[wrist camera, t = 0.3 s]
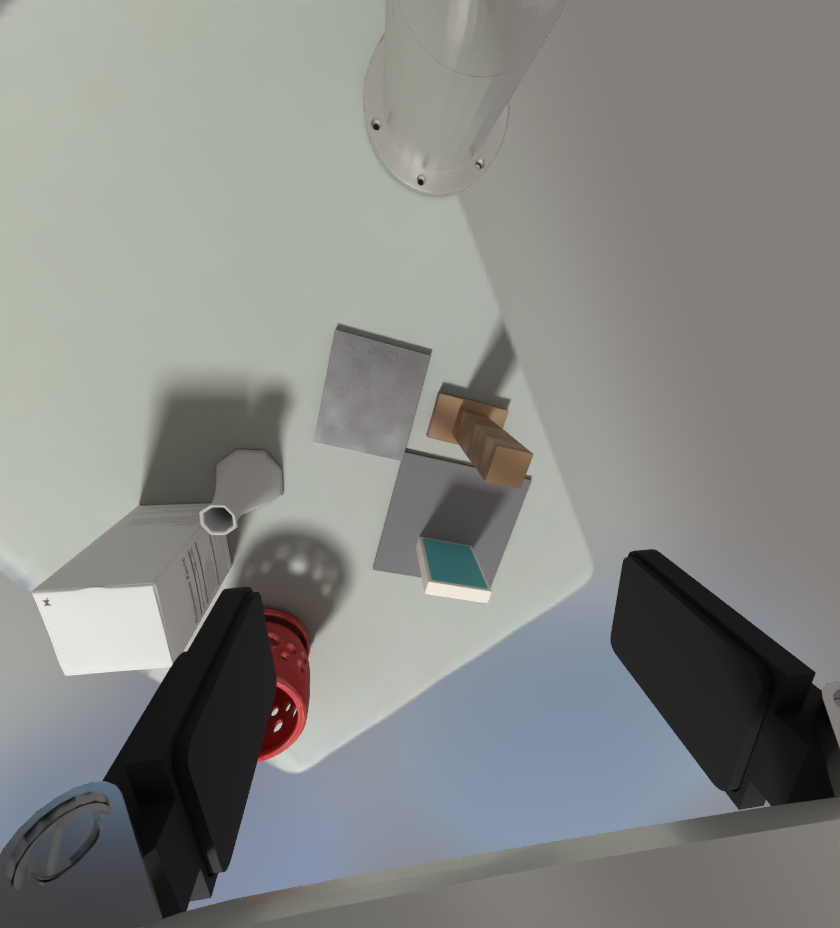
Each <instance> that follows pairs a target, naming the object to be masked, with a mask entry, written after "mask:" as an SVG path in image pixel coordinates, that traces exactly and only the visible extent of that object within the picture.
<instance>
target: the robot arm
mask: <svg viewBox="0 0 840 928" xmlns="http://www.w3.org/2000/svg"><path fill="white" fill-rule="evenodd" d="M567 2H568V0H386V15H385V35H384V37H383V38H382V39H381V41H380V42H379V44H378V45H377V47H376V49H375V51H374V53H373V56H372V58H371V60H370V63H369V67H368V71H367V74H366V78H365V88H364V113H365V120H366V127H367V131H368V134H369V138H370V141H371V144H372V146H373V148H374V150H375V152H376V155H377V157H378V159H379V160H380V161H381V163H382V164H383V166H384V167H385V169H386V170H387V171H388V172H389V173H390V174H391V175H392V176H393V177H394V178H395V179H396V180H397V181H398V182H399V183H401V184H402V185H404V186H405V187H407V188H408V189H410V190H412V191H415V192H417V193H420V194H423V195H429V196H447V195H451V194H455V193H458V192H460V191H462V190H464V189H466V188H467V187H470V186H471V185H472V184H474V183H475V182H476V181H477V180H478V179H480V177H482V175H483V174H484V173H485V172H486V171H487V169H488V168H489V167H490V165H491V164H492V162H493V161H494V159H495V158H496V156H497V154H498V151H499V150H500V147H501V145H502V143H503V140H504V136H505V132H506V129H507V123H508V116H509V100H510V98H511V97H512V95H513V93H514V92H515V90H516V89H517V87H518V85H519V84H520V82H521V80H522V79H523V77H524V75H525V74H526V72H527V71H528V69H529V67H530V66H531V64H532V62H533V61H534V59H535V57H536V56H537V54H538V53H539V51H540V49H541V47H542V46H543V44H544V42H545V41H546V39H547V37H548V36H549V34H550V32H551V31H552V29H553V27H554V26H555V24H556V22H557V21H558V19H559V17H560V16H561V14H562V12H563V10H564V8H565V6H566V4H567ZM374 126H378V127H379V130H374V128H373V127H374ZM476 164H478V165H480V169H478V168H476ZM419 180H421V181H422V182H423V185H419V184H418V181H419ZM611 645H612V648H613V651H614V652H615V654H616V655H617V656H618V658H619V659H620V661H621V662H622V663H623V665H624V666H625V667H626V668H627V670H628V671H629V672H630V674H631V675H632V676H633V678H634V679H635V680H636V682H637V683H638V684H639V686H640V687H641V688H642V689H643V691H644V692H645V694H646V695H647V696H648V698H649V699H650V700H651V702H652V703H653V704H654V706H655V707H656V708H657V710H658V711H659V712H660V714H661V715H662V716H663V718H664V719H665V720H666V722H667V723H668V724H669V726H670V727H671V728H672V730H673V731H674V732H675V734H676V735H677V736H678V738H679V739H680V740H681V741H682V743H683V744H684V746H685V747H686V748H687V750H688V751H689V752H690V754H691V755H692V756H693V757H694V759H695V760H696V761H697V763H698V764H699V765H700V767H701V768H702V769H703V771H704V772H705V773H706V775H707V776H708V778H709V779H710V780H711V782H712V783H713V784H714V785H715V786H716V787H717V788H719V789H720V790H722V791H725V792H726V793H727V795H728V796H729V797H730V799H731V800H732V801H733V803H734V804H735V805H736V806H737V808H738V809H739V810H740V809H745V808H752V807H758V806H764V803H765V800H767V801H768V803H769V804H770V805H771V806H770V807H763V808H758V809H751V810H745V811H738V812H732V813H726V814H720V815H713V816H707V817H701V818H695V819H689V820H682V821H676V822H670V823H664V824H657V825H652V826H645V827H639V828H633V829H627V830H621V831H615V832H609V833H603V834H597V835H591V836H585V837H580V838H573V839H567V840H561V841H555V842H549V843H543V844H537V845H532V846H525V847H519V848H514V849H508V850H502V851H496V852H490V853H484V854H478V855H472V856H466V857H461V858H455V859H449V860H444V861H438V862H432V863H426V864H420V865H415V866H409V867H403V868H398V869H392V870H386V871H381V872H375V873H369V874H363V875H357V876H352V877H346V878H340V879H334V880H330V881H324V882H319V883H314V884H309V885H304V886H298V887H293V888H288V889H283V890H278V891H273V892H268V893H263V894H258V895H252V896H248V897H242V898H237V899H233V900H229V901H225V902H221V903H217V904H213V905H209V906H205V907H201V908H198V909H193V910H189V911H187V908H188V904H189V901H195V900H201V899H207V898H211V896H212V893H213V889H214V886H215V882H216V878H217V875H218V873H220V872H225V871H226V870H227V868H228V866H229V864H230V861H231V857H232V853H233V850H234V846H235V842H236V839H237V835H238V831H239V828H240V824H241V820H242V817H243V813H244V809H245V805H246V802H247V798H248V794H249V790H250V787H251V783H252V779H253V775H254V772H255V768H256V764H257V761H258V757H259V753H260V750H261V746H262V742H263V739H264V735H265V731H266V727H267V724H268V720H269V716H270V712H271V709H272V705H273V701H274V698H275V694H276V687H277V677H276V671H275V666H274V661H273V656H272V651H271V646H270V641H269V636H268V631H267V626H266V620H265V615H264V610H263V605H262V600H261V596H260V593H259V592H253V591H252V589H251V587H240V588H229V589H224V590H223V591H222V593H221V594H220V596H219V598H218V599H217V601H216V603H215V605H214V606H213V608H212V610H211V612H210V613H209V615H208V617H207V618H206V620H205V622H204V624H203V625H202V627H201V629H200V631H199V632H198V634H197V636H196V637H195V639H194V641H193V643H192V644H191V646H190V648H189V649H188V651H186V652H183V653H181V654H180V655H179V656H178V657H177V658H176V660H175V661H174V663H173V664H172V666H171V668H170V669H169V671H168V673H167V674H166V676H165V678H164V679H163V681H162V683H161V684H160V686H159V688H158V689H157V691H156V693H155V694H154V696H153V698H152V699H151V701H150V703H149V705H148V706H147V708H146V710H145V711H144V713H143V715H142V716H141V718H140V720H139V721H138V723H137V724H136V726H135V728H134V729H133V731H132V733H131V734H130V736H129V738H128V739H127V741H126V743H125V744H124V746H123V748H122V749H121V751H120V753H119V754H118V756H117V758H116V759H115V761H114V763H113V764H112V766H111V767H110V769H109V771H108V772H107V774H106V776H105V777H104V779H103V781H102V782H90V783H88V784H84V785H81V786H78V787H75V788H73V789H71V790H69V791H67V792H66V793H64V794H62V795H60V796H58V797H56V798H55V799H53V800H52V801H51V802H49V803H48V804H46V805H45V806H44V807H42V808H41V809H40V810H38V811H37V812H36V813H35V814H34V815H33V816H32V817H31V818H30V819H28V820H27V821H26V822H25V823H24V824H23V825H22V826H21V827H20V828H19V829H18V830H17V832H16V833H15V834H14V835H13V837H12V838H11V839H10V841H9V842H8V843H7V844H6V846H5V847H4V848H3V850H2V852H1V854H0V928H840V682H837V681H836V682H831V683H827V684H826V685H825V686H824V687H823V689H822V690H820V689H819V688H817V687H816V686H815V685H814V684H812V681H813V678H814V676H815V672H814V671H813V670H812V669H810V668H809V667H808V666H806V665H805V664H804V663H803V662H801V661H800V660H799V659H797V658H796V657H795V656H793V655H792V654H791V653H790V652H788V651H787V650H786V649H784V648H783V647H782V646H780V645H779V644H778V643H777V642H775V641H774V640H773V639H771V638H770V637H769V636H767V635H766V634H765V633H764V632H762V631H761V630H760V629H758V628H757V627H756V626H754V625H753V624H752V623H751V622H749V621H748V620H747V619H745V618H744V617H743V616H742V615H740V614H739V613H738V612H736V611H735V610H734V609H732V608H731V607H730V606H729V605H727V604H726V603H725V602H723V601H722V600H721V599H720V598H718V597H717V596H716V595H714V594H713V593H712V592H710V591H709V590H708V589H707V588H705V587H704V586H702V585H701V584H700V583H699V582H697V581H696V580H695V579H694V578H692V577H691V576H690V575H688V574H687V573H686V572H684V571H683V570H682V569H681V568H679V567H678V566H677V565H675V564H674V563H673V562H671V561H670V560H669V559H668V558H666V557H665V556H664V555H662V554H661V553H660V552H658V551H657V550H654V549H650V550H639V551H632V552H630V553H629V555H628V557H627V558H625V559H624V560H623V564H622V570H621V576H620V583H619V588H618V595H617V601H616V607H615V614H614V619H613V625H612V631H611Z"/></svg>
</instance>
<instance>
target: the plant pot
mask: <svg viewBox="0 0 840 928" xmlns="http://www.w3.org/2000/svg"><path fill="white" fill-rule="evenodd" d="M263 610H264V615H265V620H266V626H267V631H268V636H269V641H270V646H271V651H272V656H273V661H274V666H275V671H276V677H277V687H276V694H275V698H274V701H273V705H272V709H271V712H270V716H269V720H268V724H267V727H266V731H265V735H264V739H263V742H262V746H261V750H260V753H259V757H258V761H257V762H260V761H264V760H267V759H269V758H272V757H274V756H276V755H278V754H280V753H282V752H283V751H284V750H286V749H287V748H288V747H290V746H291V745H292V744H293V743H294V742H295V741H296V740H297V739H298V737H299V736H300V734H301V733H302V731H303V729H304V727H305V724H306V719H307V713H308V706H309V697H310V668H309V661H308V657H309V653H310V640H309V636H308V634H307V632H306V630H305V628H304V627H303V626H302V625H301V624H300V622H298V621H297V620H296V619H295V618H293V617H292V616H290V615H288V614H286V613H284V612H281V611H277V610H273V609H263ZM289 704H291V705H290V708H289V710H288V711H286V708H287V707H288V705H289ZM277 708H278V712H277V714H276V715H274V716H272V715H271V714H272V712H273V711H274V710H275V709H277ZM296 708H297V711H296V713H295V715H294V717H293V714H294V712H295V710H296ZM281 722H283V723H282V726H281V728H280V729H279V730H278V731H276V732H274V729H275V727H276V726H277V725H278V724H279V723H281Z"/></svg>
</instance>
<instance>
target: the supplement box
mask: <svg viewBox="0 0 840 928" xmlns="http://www.w3.org/2000/svg"><path fill="white" fill-rule="evenodd" d="M209 504H211V503H200V504H173V505H146V506H138V507H136V508H135V509H134V510H133V511H131V512H130V513H129V514H128V515H126V516H125V517H124V518H123V519H121V520H120V521H119V522H118V523H116V524H115V525H114V526H113V527H111V528H110V529H109V530H108V531H106V532H105V533H104V534H103V535H101V536H100V537H99V538H98V539H96V540H95V541H94V542H93V543H92V544H90V545H89V546H88V547H87V548H85V549H84V550H83V551H82V552H80V553H79V554H78V555H77V556H75V557H74V558H73V559H72V560H70V561H69V562H68V563H67V564H65V565H64V566H63V567H62V568H60V569H59V570H58V571H57V572H55V573H54V574H53V575H52V576H50V577H49V578H48V579H47V580H45V581H44V582H43V583H42V584H40V585H39V586H38V587H37V588H35V589H34V590H33V591H32V594H33V597H34V599H35V601H36V603H37V606H38V608H39V611H40V613H41V616H42V618H43V620H44V623H45V625H46V628H47V630H48V633H49V636H50V638H51V641H52V644H53V647H54V649H55V652H56V655H57V658H58V661H59V663H60V666H61V668H62V670H63V672H64V674H65V676H68V675H79V674H89V673H102V672H113V671H125V670H138V669H151V668H164V667H171V666H172V664H173V663H174V661H175V660H176V658H177V657H178V656H179V655H180V654H181V653H182V652H183V651H184V649H185V647H186V645H187V644H188V642H189V640H190V638H191V637H192V635H193V633H194V631H195V630H196V628H197V626H198V624H199V623H200V621H201V619H202V617H203V616H204V614H205V612H206V610H207V609H208V607H209V605H210V603H211V602H212V600H213V598H214V596H215V595H216V593H217V591H218V589H219V588H220V586H221V584H222V582H223V581H224V579H225V577H226V575H227V574H228V572H229V570H230V568H231V567H232V565H231V559H230V553H229V548H228V543H227V537H226V535H210V534H209V533H208V532H207V531H206V530H205V529H204V528H203V527H202V526H201V524H200V517H199V511H200V510H202V509H203V508H205V507H206V506H208V505H209Z"/></svg>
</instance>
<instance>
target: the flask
mask: <svg viewBox="0 0 840 928" xmlns="http://www.w3.org/2000/svg"><path fill="white" fill-rule="evenodd" d="M282 494H283V482H282V470H281V469H280V468H279V466H278V465H277V464H276V463H275V462H274V461H273V459H272V458H271V457H270V456H269V455H268V454H267V452H266V451H265V450H240V449H237V450H236V451H234V452H233V453H231V454H230V455H228V456H227V457H226V458H224V459H223V460H221V461H220V462H218V463H217V466H216V490H215V496H214V498H213V500H212V503H211V504H209V505H208V506H206V507H205V508H203V509H202V510H200V511H199V517H200V524H201V526H202V527H203V528H204V529H205V530H206V531H207V532H208V533H209V534H210V535H226V534H228V533H229V532H231V531H232V530H234V529H236V528H237V527H238V521H237V520H238V519H239V518H240V516H241V515H243V514H245V513H247V512H250V511H253V510H256V509H259V508H262V507H264V506H265V505H267V504H268V503H270V502H271V501H273V500H274V499H276V498H277V497H279V496H280V495H282Z"/></svg>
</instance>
